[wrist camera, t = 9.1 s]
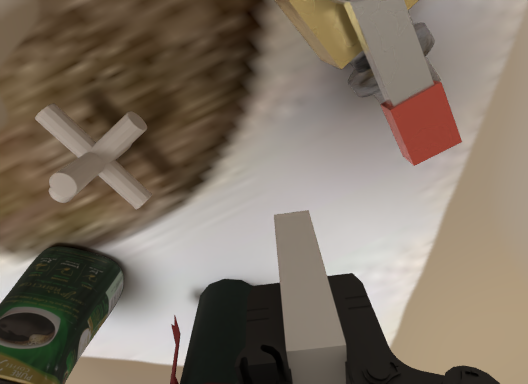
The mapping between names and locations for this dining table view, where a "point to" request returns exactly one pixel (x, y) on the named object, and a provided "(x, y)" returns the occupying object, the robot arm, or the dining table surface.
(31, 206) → the dining table surface
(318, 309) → the robot arm
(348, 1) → the lever
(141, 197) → the pipe connector
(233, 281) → the wine bottle
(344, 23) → the pipe
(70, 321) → the coffee jar
